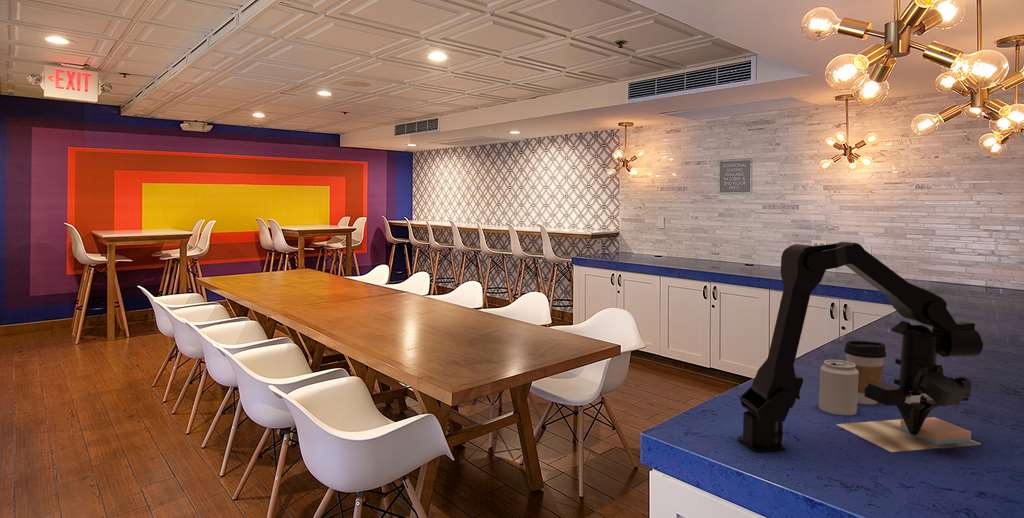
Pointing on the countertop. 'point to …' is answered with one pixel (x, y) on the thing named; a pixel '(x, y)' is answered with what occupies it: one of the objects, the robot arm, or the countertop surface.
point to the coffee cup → (866, 364)
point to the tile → (940, 432)
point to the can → (838, 387)
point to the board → (895, 436)
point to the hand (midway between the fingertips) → (913, 434)
